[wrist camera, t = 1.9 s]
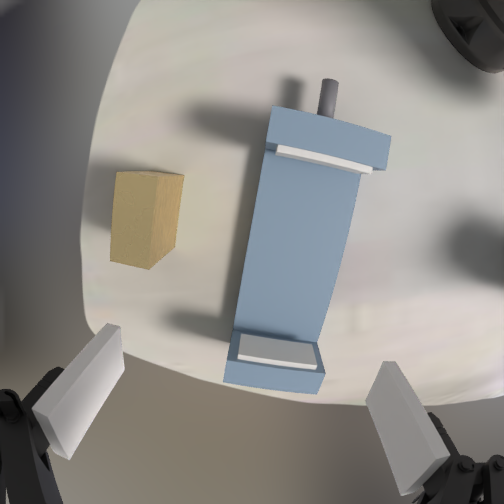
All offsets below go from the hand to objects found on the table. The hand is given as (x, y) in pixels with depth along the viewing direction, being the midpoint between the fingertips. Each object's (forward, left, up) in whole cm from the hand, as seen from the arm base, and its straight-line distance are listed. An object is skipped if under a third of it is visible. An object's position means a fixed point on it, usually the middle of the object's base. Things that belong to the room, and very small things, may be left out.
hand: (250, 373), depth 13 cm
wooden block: (-3, -11, -20) cm, 23 cm away
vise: (-1, +4, -20) cm, 20 cm away
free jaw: (-15, +4, -18) cm, 24 cm away
